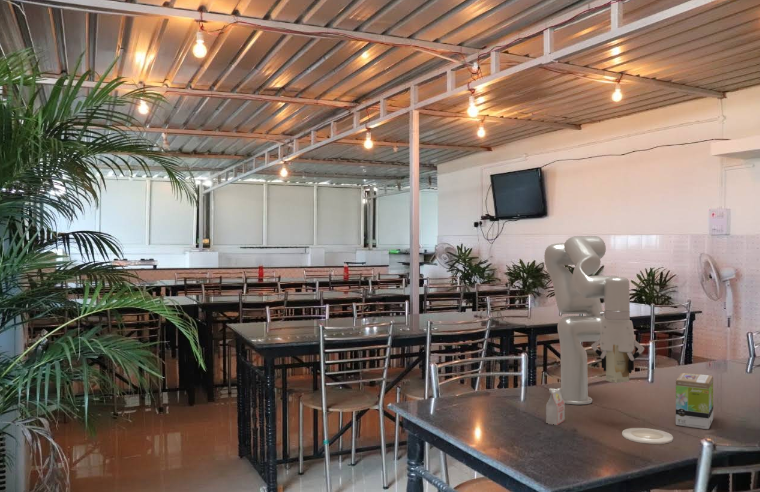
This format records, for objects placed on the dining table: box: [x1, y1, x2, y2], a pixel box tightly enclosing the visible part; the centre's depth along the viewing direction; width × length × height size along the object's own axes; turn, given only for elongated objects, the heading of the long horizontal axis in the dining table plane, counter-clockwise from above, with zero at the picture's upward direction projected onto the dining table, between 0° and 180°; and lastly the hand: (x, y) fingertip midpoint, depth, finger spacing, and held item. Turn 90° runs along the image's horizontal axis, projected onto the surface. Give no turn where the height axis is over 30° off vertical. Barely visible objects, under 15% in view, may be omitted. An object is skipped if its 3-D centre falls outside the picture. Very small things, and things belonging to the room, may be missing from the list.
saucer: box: [621, 427, 674, 445], centre depth 187 cm, size 14×14×1 cm
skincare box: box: [605, 344, 630, 384], centre depth 200 cm, size 6×4×12 cm
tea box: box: [675, 372, 714, 430], centre depth 203 cm, size 15×10×15 cm, turn 148°
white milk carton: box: [545, 390, 566, 426], centre depth 205 cm, size 4×7×10 cm, turn 143°
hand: (617, 371), depth 200 cm, fingers closed on skincare box, 6 cm apart
